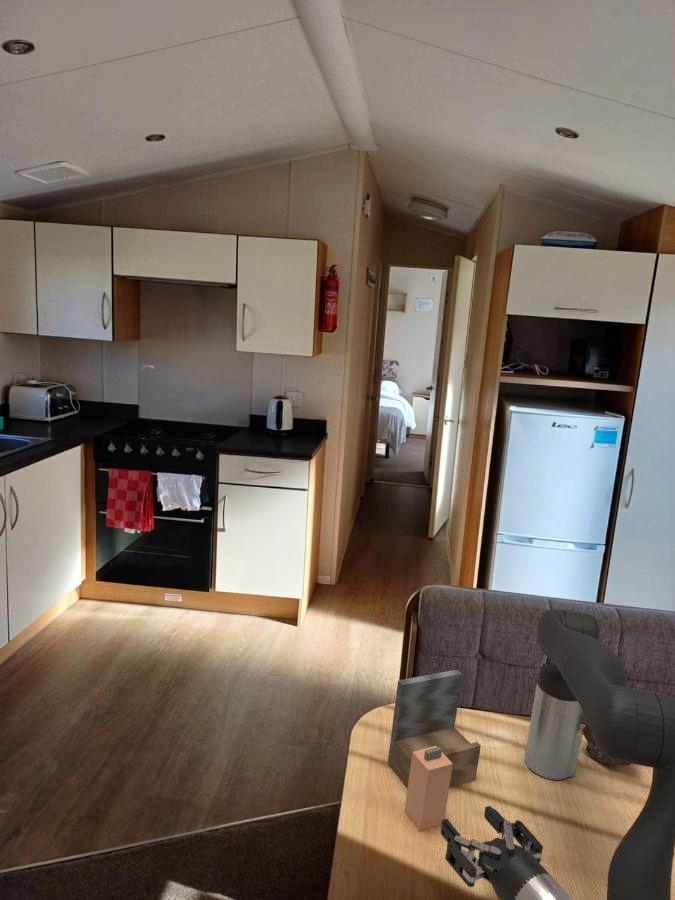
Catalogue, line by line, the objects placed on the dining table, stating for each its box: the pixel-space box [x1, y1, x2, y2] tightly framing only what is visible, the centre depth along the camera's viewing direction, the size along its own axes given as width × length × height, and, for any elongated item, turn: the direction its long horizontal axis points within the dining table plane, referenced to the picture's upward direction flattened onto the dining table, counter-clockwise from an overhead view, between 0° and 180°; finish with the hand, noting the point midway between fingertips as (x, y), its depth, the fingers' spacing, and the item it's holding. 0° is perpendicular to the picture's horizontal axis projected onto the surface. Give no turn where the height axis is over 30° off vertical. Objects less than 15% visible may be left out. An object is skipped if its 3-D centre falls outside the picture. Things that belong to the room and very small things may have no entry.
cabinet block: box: [404, 746, 453, 832], centre depth 114 cm, size 5×5×14 cm
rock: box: [582, 723, 631, 767], centre depth 135 cm, size 12×10×10 cm
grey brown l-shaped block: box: [387, 669, 482, 789], centre depth 125 cm, size 14×10×18 cm
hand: (465, 817), depth 104 cm, fingers open, 8 cm apart
